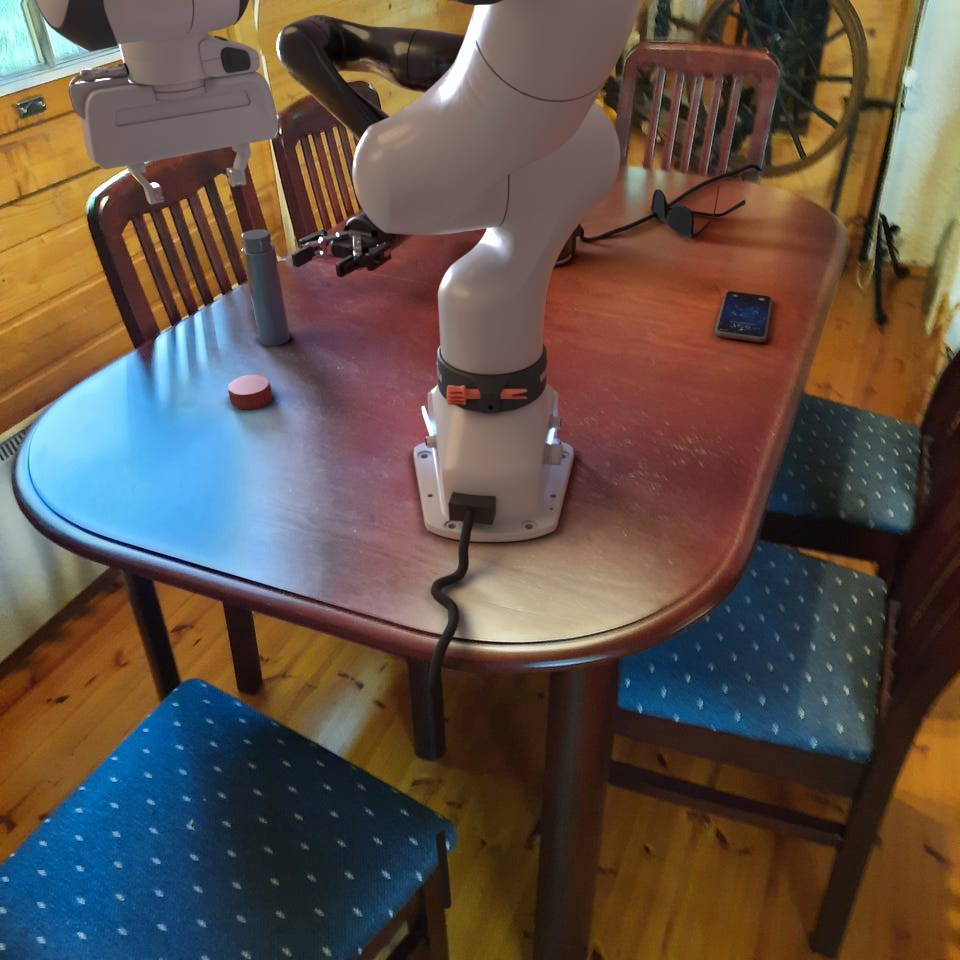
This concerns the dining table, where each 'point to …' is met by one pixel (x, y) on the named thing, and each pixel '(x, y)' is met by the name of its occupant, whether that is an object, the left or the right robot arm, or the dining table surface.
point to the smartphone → (744, 316)
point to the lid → (250, 391)
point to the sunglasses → (682, 214)
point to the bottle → (265, 287)
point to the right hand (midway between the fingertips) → (315, 265)
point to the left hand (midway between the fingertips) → (198, 193)
